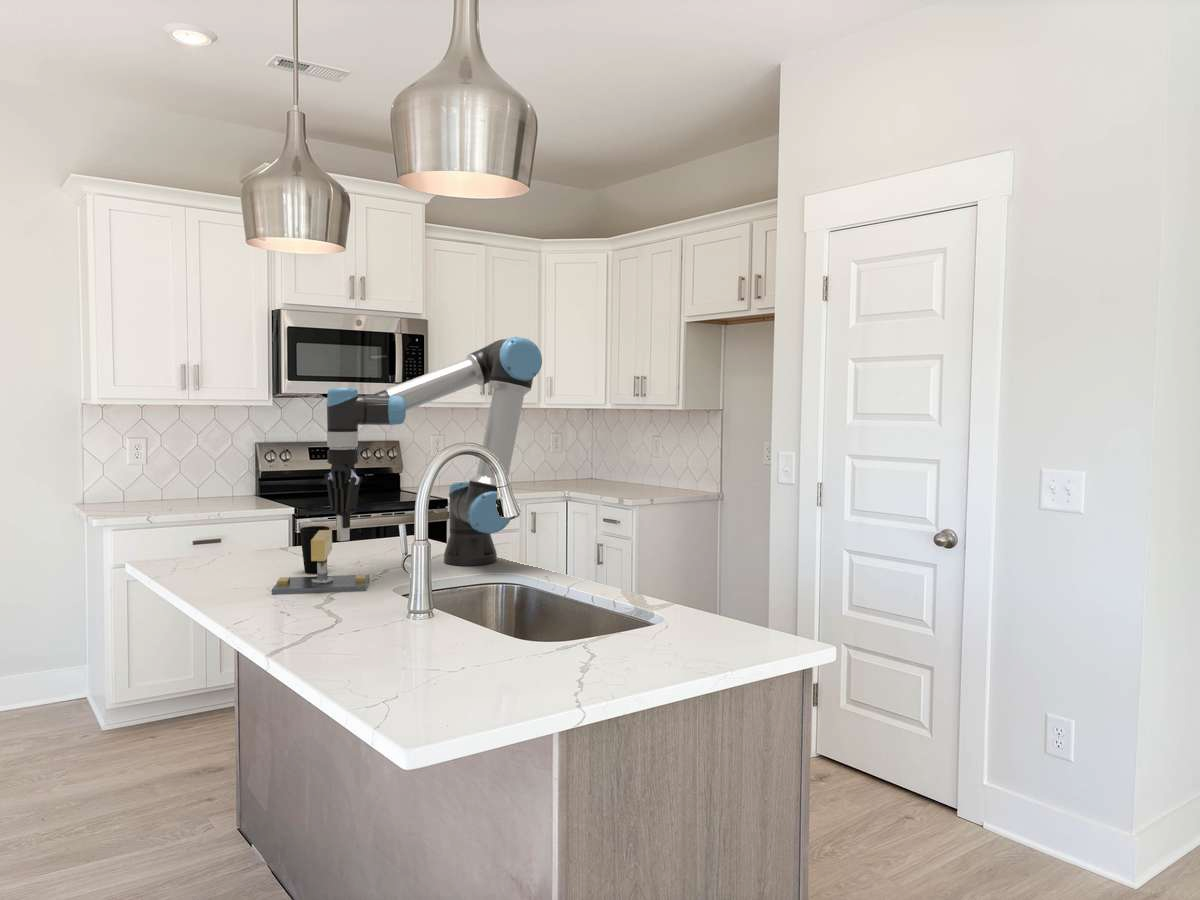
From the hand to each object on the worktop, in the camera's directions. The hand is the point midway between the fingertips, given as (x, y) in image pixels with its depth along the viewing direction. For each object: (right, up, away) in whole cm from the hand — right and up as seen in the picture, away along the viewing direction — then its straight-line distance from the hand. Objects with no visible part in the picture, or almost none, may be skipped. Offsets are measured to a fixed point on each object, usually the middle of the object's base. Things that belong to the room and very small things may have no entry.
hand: (343, 540), depth 225 cm
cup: (-12, -10, +14) cm, 21 cm away
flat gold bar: (-4, -5, -5) cm, 8 cm away
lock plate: (-4, -11, -4) cm, 13 cm away
